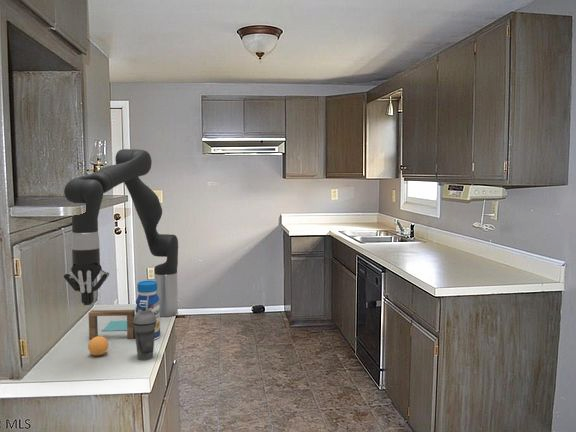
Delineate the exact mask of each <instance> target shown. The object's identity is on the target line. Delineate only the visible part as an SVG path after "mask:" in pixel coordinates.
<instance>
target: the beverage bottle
mask: <svg viewBox="0 0 576 432" xmlns="http://www.w3.org/2000/svg"><path fill="white" fill-rule="evenodd" d="M136 284H137V288H136V289H137V292H138V295H137V297H136V298H135V304H136V306H135V309H134V310H135V314H136V313H137V312H138V311H139V310H141V309H146V302H147V295H149V299H148V309H149V310H151V311H152V312H153V313H154V314H155V316H156V320H157V322H156V327H155V335H154V341H156V340H158V339H159V338H160V337H161V322H160V321H161V318H160V317H161V316H160V305H159V302H160V299H159V297H158V295H157V294H156V291H157V282H156V281H154V280H141V281H138V282H137V283H136Z"/></svg>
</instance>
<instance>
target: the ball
mask: <svg viewBox="0 0 576 432" xmlns="http://www.w3.org/2000/svg"><path fill="white" fill-rule="evenodd" d="M87 346H88V347H87V348H88V351H89V352H90V354H91V355H94V356H95V357H96V356H102V355H103V354H105V353H106V352H107V351H108V349H109V341H108V339H107V338H105V337H104V336H99V335H98V336H97V337H94V338H93V339H92V340H89V343H88V345H87Z"/></svg>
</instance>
